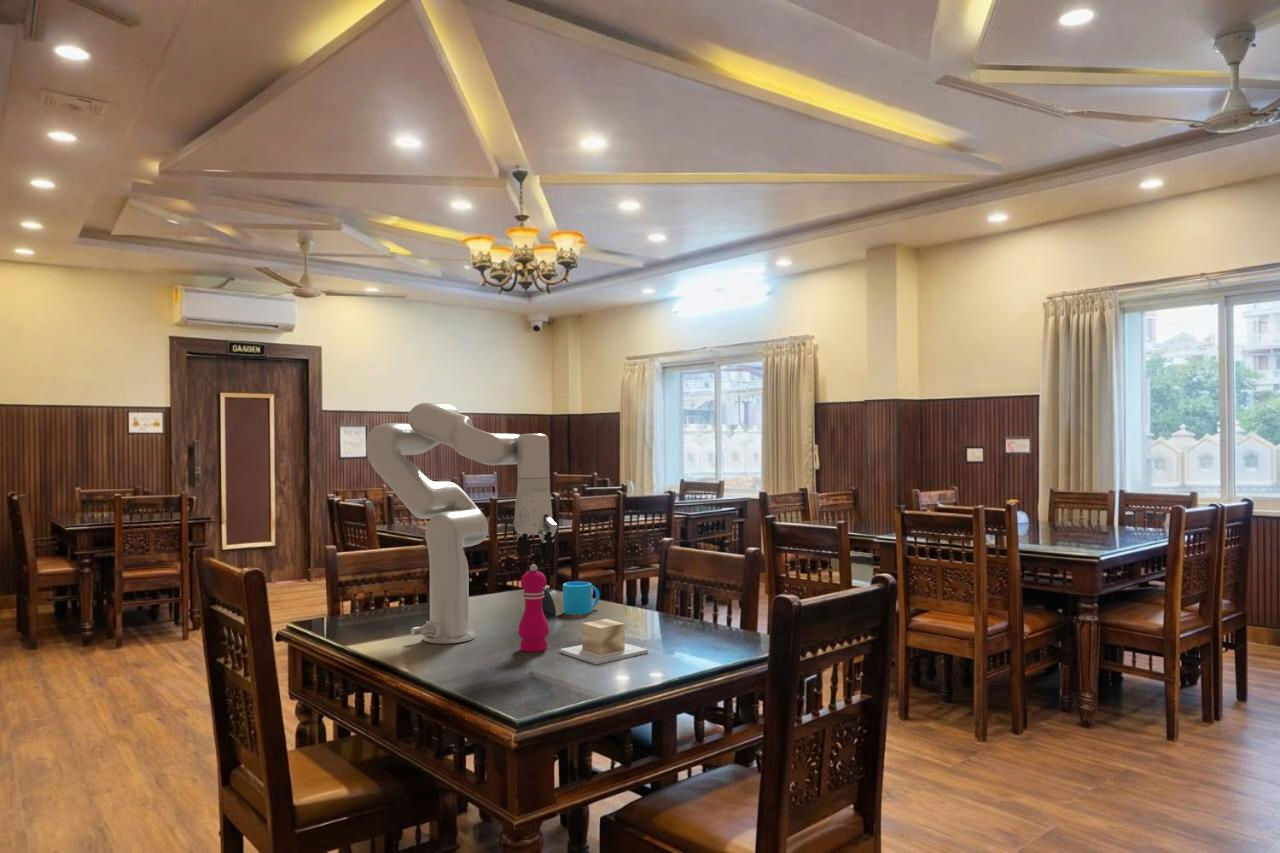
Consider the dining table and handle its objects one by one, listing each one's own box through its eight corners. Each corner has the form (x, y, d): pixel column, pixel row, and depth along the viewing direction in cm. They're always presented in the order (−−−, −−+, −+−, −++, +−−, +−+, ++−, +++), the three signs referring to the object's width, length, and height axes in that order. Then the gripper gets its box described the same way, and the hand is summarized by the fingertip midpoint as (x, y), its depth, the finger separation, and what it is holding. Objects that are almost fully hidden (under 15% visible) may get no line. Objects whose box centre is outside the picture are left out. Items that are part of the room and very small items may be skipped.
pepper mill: (550, 645, 204) (549, 561, 204) (548, 652, 197) (547, 566, 197) (520, 645, 204) (519, 562, 204) (516, 652, 196) (516, 566, 197)
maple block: (600, 654, 191) (600, 628, 191) (582, 649, 196) (582, 623, 196) (624, 649, 196) (624, 623, 196) (606, 644, 201) (605, 618, 201)
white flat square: (596, 664, 186) (596, 660, 186) (559, 652, 196) (559, 648, 196) (647, 653, 195) (647, 649, 195) (610, 642, 206) (610, 638, 206)
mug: (574, 616, 237) (574, 587, 237) (557, 612, 243) (557, 583, 243) (607, 610, 245) (607, 582, 245) (590, 606, 251) (590, 579, 251)
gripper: (501, 485, 205) (502, 556, 204) (540, 487, 192) (542, 562, 191) (527, 484, 210) (528, 553, 209) (567, 485, 197) (569, 559, 196)
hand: (535, 557), depth 200 cm, fingers open, 9 cm apart
